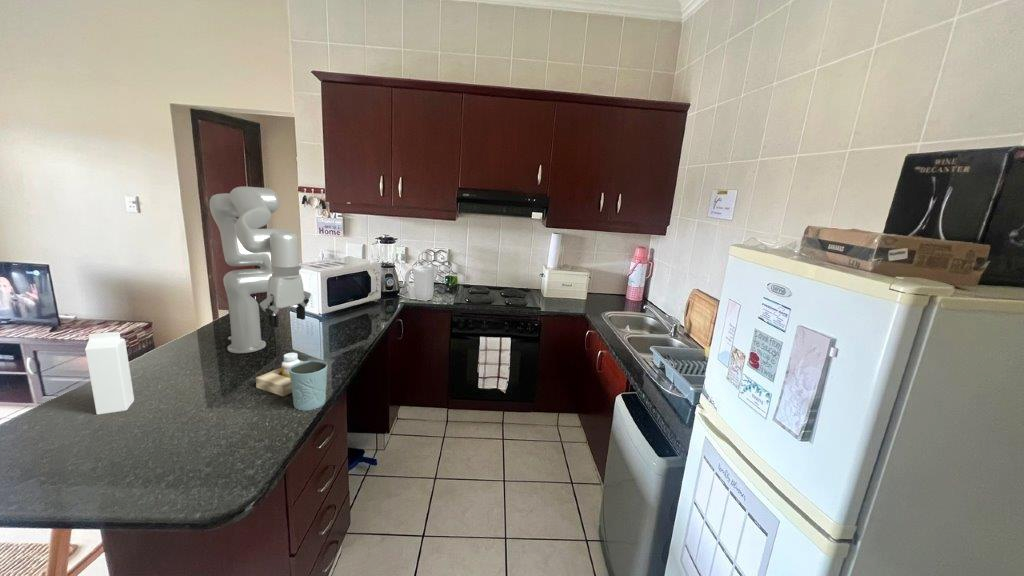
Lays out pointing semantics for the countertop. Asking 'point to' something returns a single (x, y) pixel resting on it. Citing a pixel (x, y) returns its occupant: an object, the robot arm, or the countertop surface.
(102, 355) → the milk
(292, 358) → the supplement bottle
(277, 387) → the socket block
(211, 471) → the countertop surface
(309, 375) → the embossed blue-green cup
